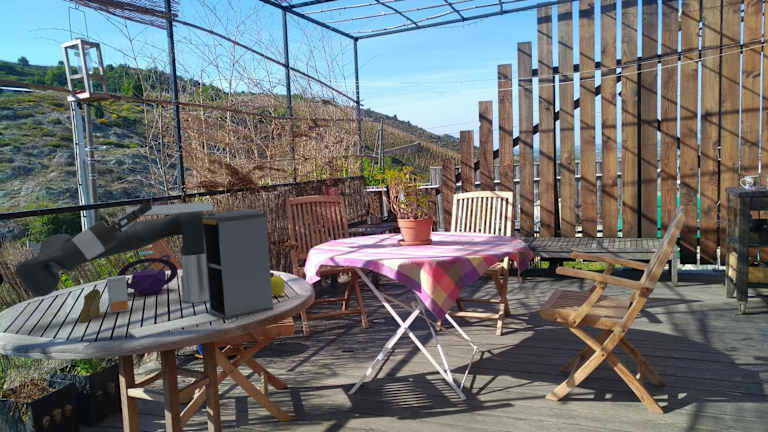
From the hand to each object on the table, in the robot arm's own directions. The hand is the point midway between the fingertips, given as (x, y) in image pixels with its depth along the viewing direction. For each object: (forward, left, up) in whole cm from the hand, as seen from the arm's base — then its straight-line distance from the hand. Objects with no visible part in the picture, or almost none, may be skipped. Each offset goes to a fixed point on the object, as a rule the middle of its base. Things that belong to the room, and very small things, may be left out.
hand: (148, 206), depth 159 cm
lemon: (+15, +42, -37) cm, 58 cm away
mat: (+2, +4, -37) cm, 37 cm away
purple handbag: (-43, +39, -37) cm, 69 cm away
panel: (+4, +5, -3) cm, 7 cm away
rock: (-35, +5, -37) cm, 52 cm away
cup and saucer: (+3, +53, -37) cm, 65 cm away
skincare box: (-32, +15, -37) cm, 52 cm away
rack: (+13, +23, -37) cm, 46 cm away
